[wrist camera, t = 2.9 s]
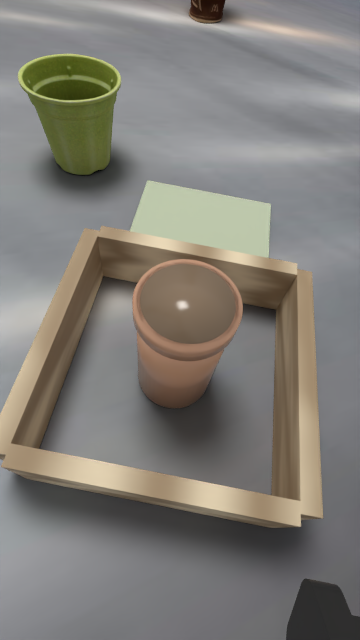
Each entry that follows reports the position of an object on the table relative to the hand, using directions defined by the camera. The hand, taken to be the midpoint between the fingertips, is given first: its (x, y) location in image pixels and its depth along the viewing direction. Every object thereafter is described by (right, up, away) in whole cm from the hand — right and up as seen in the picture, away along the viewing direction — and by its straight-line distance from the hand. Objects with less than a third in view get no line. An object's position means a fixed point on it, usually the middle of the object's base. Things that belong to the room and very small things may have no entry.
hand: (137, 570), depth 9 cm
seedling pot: (+1, +2, +19) cm, 19 cm away
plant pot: (-10, +25, +32) cm, 41 cm away
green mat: (+3, +16, +28) cm, 32 cm away
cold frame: (+1, +2, +19) cm, 19 cm away
